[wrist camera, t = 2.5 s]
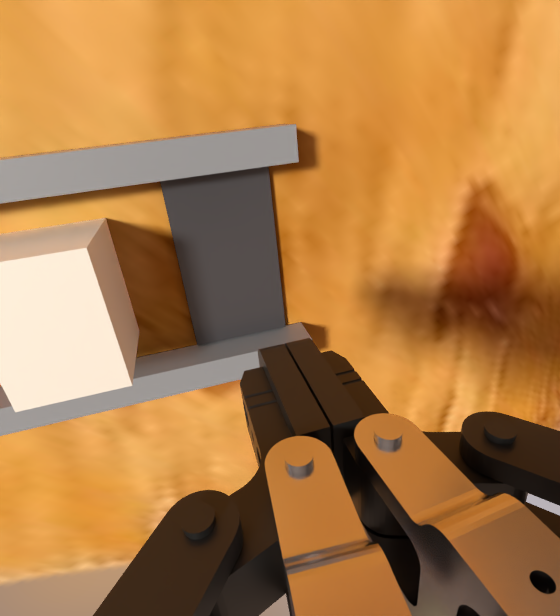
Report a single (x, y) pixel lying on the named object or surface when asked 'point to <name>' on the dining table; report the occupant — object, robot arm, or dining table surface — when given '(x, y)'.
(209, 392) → the dining table surface
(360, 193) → the dining table surface
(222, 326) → the channel
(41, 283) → the block
